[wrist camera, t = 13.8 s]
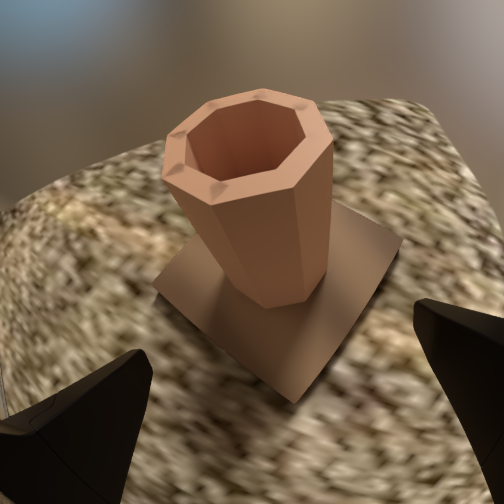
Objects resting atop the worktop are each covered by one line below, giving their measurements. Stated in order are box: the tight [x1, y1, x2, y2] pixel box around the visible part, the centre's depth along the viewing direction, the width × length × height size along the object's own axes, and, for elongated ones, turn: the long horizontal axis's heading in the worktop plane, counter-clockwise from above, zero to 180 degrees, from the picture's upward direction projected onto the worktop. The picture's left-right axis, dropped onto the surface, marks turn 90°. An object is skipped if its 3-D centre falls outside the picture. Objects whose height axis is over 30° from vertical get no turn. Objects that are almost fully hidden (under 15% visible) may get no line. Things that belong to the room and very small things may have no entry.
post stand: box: [151, 200, 403, 404], centre depth 17 cm, size 12×12×5 cm
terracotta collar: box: [162, 89, 333, 309], centre depth 14 cm, size 6×6×10 cm
